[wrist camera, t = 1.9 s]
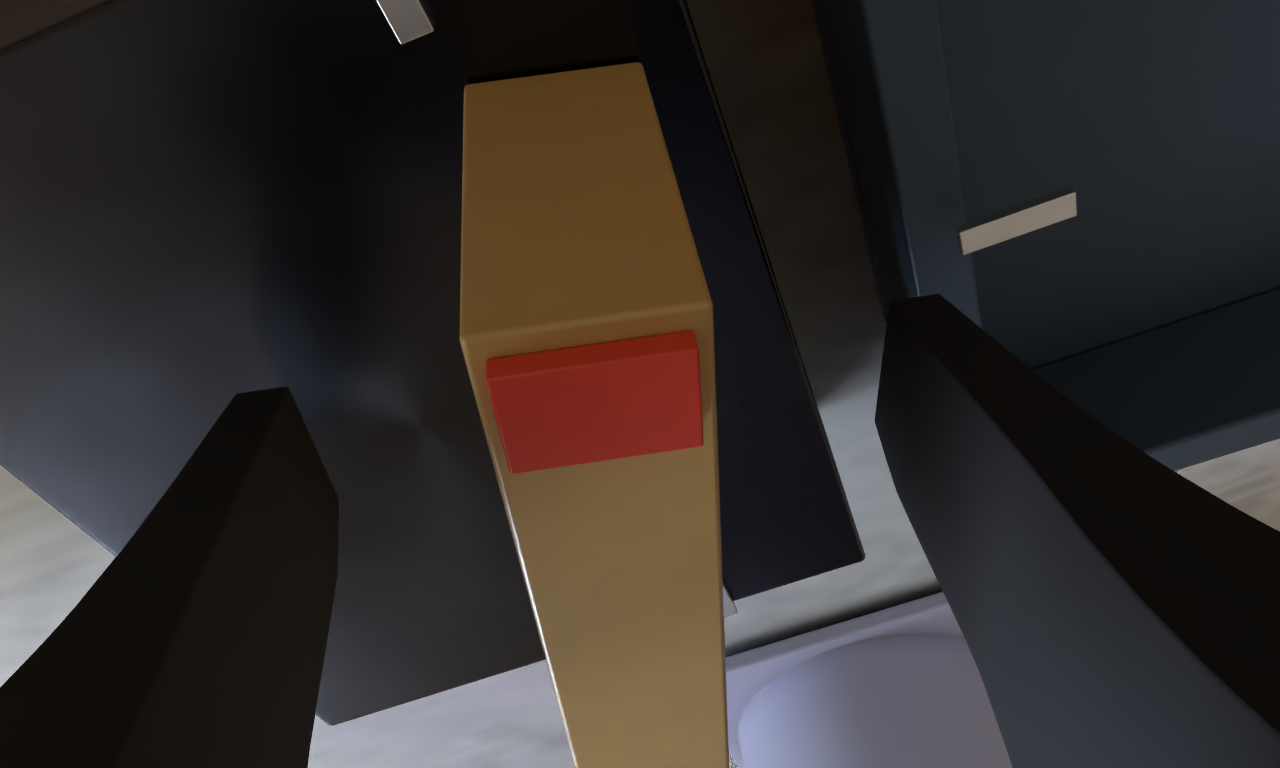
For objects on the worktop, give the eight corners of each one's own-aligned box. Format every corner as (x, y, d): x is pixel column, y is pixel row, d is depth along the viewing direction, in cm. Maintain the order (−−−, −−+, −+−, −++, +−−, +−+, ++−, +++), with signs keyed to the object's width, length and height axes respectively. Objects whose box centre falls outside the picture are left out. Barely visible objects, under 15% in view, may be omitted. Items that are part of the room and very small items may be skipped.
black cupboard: (350, 573, 20) (331, 738, 17) (-175, 42, 12) (-361, 201, 9) (998, 356, 18) (1088, 505, 16) (898, -449, 10) (1050, -429, 7)
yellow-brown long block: (681, 548, 15) (735, 820, 12) (567, 566, 15) (591, 843, 12) (642, 58, 10) (720, 323, 7) (462, 83, 10) (457, 361, 7)
